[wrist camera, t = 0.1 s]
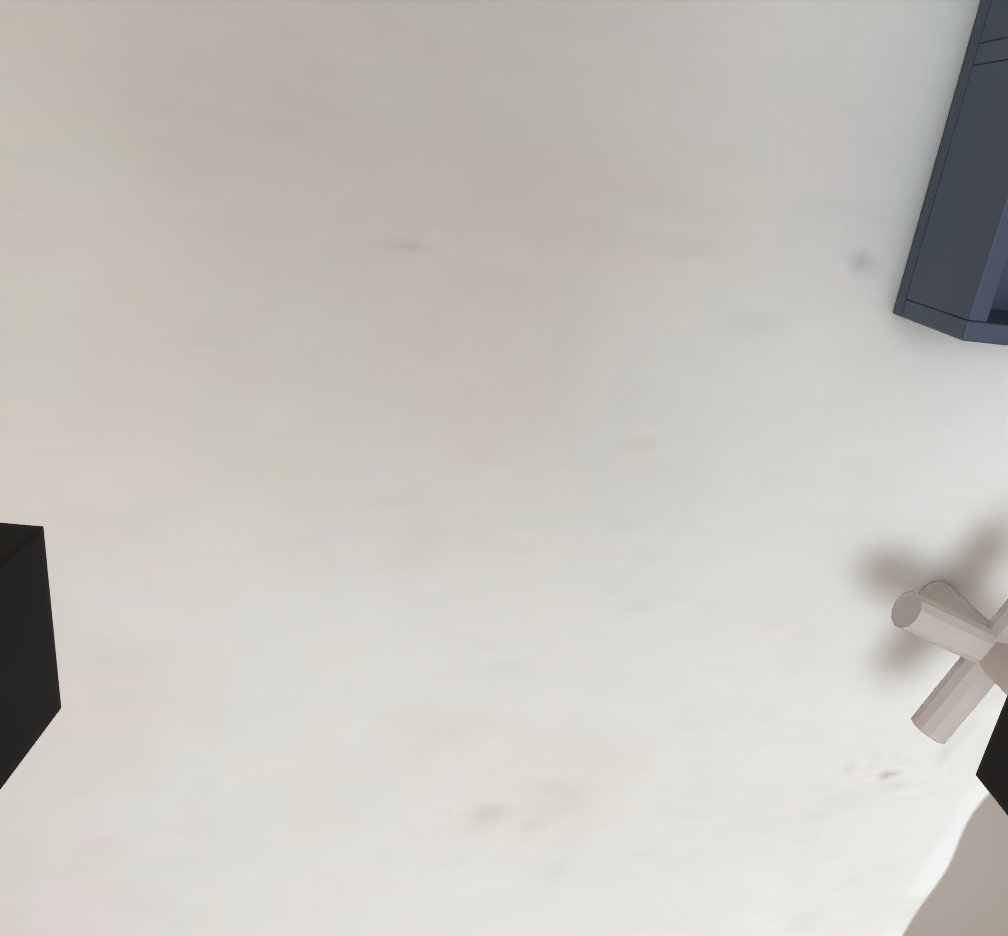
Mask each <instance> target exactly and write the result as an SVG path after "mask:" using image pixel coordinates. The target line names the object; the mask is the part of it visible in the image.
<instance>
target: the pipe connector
mask: <svg viewBox="0 0 1008 936" xmlns="http://www.w3.org/2000/svg"><path fill="white" fill-rule="evenodd" d="M891 618H892V620H893V623H894V625H895V626H897V627H899V628H901V629H903V630H906V631H908V632H910V633H912V634H914V635H916V636H918V637H920V638H923V639H925V640H927V641H929V642H931V643H933V644H935V645H937V646H940V647H942V648H944V649H946V650H948V651H950V652H952V653H954V654H957V655H959V656H961V657H960V659H959V660H958V661H957V662H956V663H955V665H954V666H953V667H952V668H951V670H950V671H949V672H948V673H947V674H946V676H945V677H944V678H943V679H942V681H941V682H940V683H939V684H938V686H937V687H936V688H935V689H934V690H933V692H932V693H931V694H930V695H929V697H928V698H927V699H926V700H925V701H924V703H923V704H922V705H921V706H920V708H919V709H918V710H917V711H916V712H915V714H914V715H913V716H912V717H911V720H912V722H913V723H914V724H915V726H916V727H917V728H918V729H919V730H920V731H922V732H923V733H924V734H925V735H927V736H928V737H929V738H931V739H933V740H935V741H936V742H938V743H942V744H945V742H946V741H947V740H948V739H949V738H950V737H951V735H952V734H953V733H954V732H955V731H956V729H957V728H958V727H959V726H960V725H961V723H962V722H963V721H964V720H965V719H966V718H967V716H968V715H969V714H970V713H971V712H972V710H973V709H974V708H975V707H976V706H977V705H978V703H979V702H980V701H981V700H982V699H983V697H984V696H985V695H986V694H987V693H988V691H989V690H990V689H991V688H992V687H993V686H994V684H995V683H996V684H997V685H998V686H999V687H1000V688H1001V689H1002V690H1003V691H1004V692H1005V693H1006V694H1007V695H1008V600H1007V601H1006V602H1005V603H1004V605H1003V606H1002V607H1001V608H1000V609H999V611H998V612H997V613H996V614H995V616H994V617H993V618H992V619H991V621H990V622H989V621H988V620H987V619H986V618H985V617H984V616H983V615H982V614H981V613H980V612H979V611H977V610H976V609H975V608H974V607H973V606H972V605H971V604H970V603H969V602H968V601H967V600H965V599H964V598H963V597H962V596H961V595H960V594H959V593H958V592H957V591H956V590H954V589H953V588H952V587H951V586H950V585H949V584H947V583H946V582H943V581H936V582H932V583H930V584H928V585H927V586H925V587H924V588H923V589H922V591H921V592H920V594H917V593H915V592H913V591H910V592H906V593H904V594H902V595H901V596H900V597H899V598H898V599H897V600H896V602H895V604H894V606H893V608H892V616H891Z"/></svg>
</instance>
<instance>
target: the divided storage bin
mask: <svg viewBox="0 0 1008 936" xmlns="http://www.w3.org/2000/svg"><path fill="white" fill-rule="evenodd" d="M893 313H894V314H896V315H898V316H901V317H904V318H906V319H909V320H912V321H914V322H917V323H919V324H922V325H924V326H927V327H930V328H932V329H935V330H937V331H940V332H942V333H945V334H947V335H950V336H953V337H955V338H958V339H960V340H963V341H972V342H982V343H991V344H1000V345H1008V0H981V3H980V7H979V10H978V14H977V17H976V21H975V25H974V28H973V32H972V35H971V39H970V42H969V46H968V49H967V53H966V56H965V60H964V64H963V67H962V71H961V74H960V78H959V81H958V85H957V88H956V92H955V95H954V99H953V103H952V106H951V110H950V113H949V117H948V120H947V124H946V127H945V131H944V134H943V138H942V142H941V145H940V149H939V152H938V156H937V159H936V163H935V166H934V170H933V173H932V177H931V181H930V184H929V188H928V191H927V195H926V198H925V202H924V205H923V209H922V212H921V216H920V220H919V223H918V227H917V230H916V234H915V237H914V241H913V244H912V248H911V251H910V255H909V259H908V262H907V266H906V269H905V273H904V276H903V280H902V283H901V287H900V290H899V294H898V298H897V301H896V305H895V308H894V312H893Z"/></svg>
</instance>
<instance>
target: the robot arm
mask: <svg viewBox="0 0 1008 936" xmlns="http://www.w3.org/2000/svg"><path fill="white" fill-rule="evenodd" d="M60 709H61V701H60V691H59V681H58V671H57V661H56V651H55V640H54V630H53V620H52V610H51V600H50V590H49V580H48V570H47V559H46V549H45V539H44V529H43V526H31V525H20V524H8V523H0V789H1V788H2V787H3V785H4V784H5V782H6V781H7V780H8V778H9V777H10V776H11V774H12V773H13V772H14V770H15V769H16V768H17V766H18V765H19V764H20V762H21V761H22V760H23V758H24V757H25V756H26V754H27V753H28V752H29V750H30V749H31V748H32V746H33V745H34V744H35V742H36V741H37V740H38V738H39V737H40V736H41V734H42V733H43V732H44V730H45V729H46V728H47V726H48V725H49V723H50V722H51V721H52V719H53V718H54V717H55V715H56V714H57V713H58V711H59V710H60ZM976 776H977V777H978V778H979V780H980V781H981V782H982V783H983V785H984V786H985V787H986V788H987V790H988V791H989V792H990V793H991V795H992V796H993V797H994V798H995V799H996V801H997V802H998V803H999V805H1000V806H1001V807H1002V809H1003V810H1004V811H1005V812H1006V814H1007V815H1008V696H1007V698H1006V701H1005V703H1004V706H1003V708H1002V711H1001V713H1000V716H999V718H998V720H997V723H996V725H995V728H994V730H993V733H992V735H991V738H990V740H989V743H988V745H987V748H986V750H985V753H984V755H983V758H982V760H981V763H980V765H979V768H978V770H977V773H976Z"/></svg>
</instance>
